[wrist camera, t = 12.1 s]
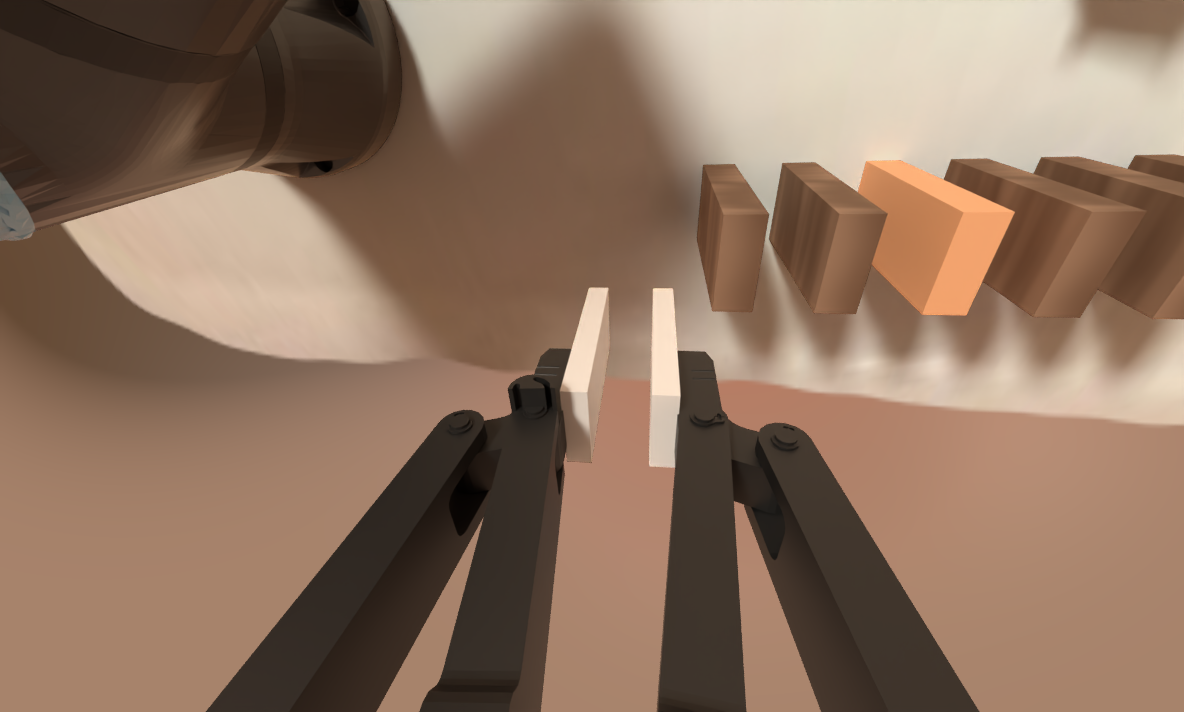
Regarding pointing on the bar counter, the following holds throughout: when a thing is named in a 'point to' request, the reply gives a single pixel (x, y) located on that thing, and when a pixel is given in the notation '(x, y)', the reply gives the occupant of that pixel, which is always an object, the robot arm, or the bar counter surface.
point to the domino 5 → (1136, 232)
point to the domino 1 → (730, 237)
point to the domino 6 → (1160, 166)
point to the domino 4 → (1048, 237)
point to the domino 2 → (825, 236)
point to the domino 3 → (932, 236)
